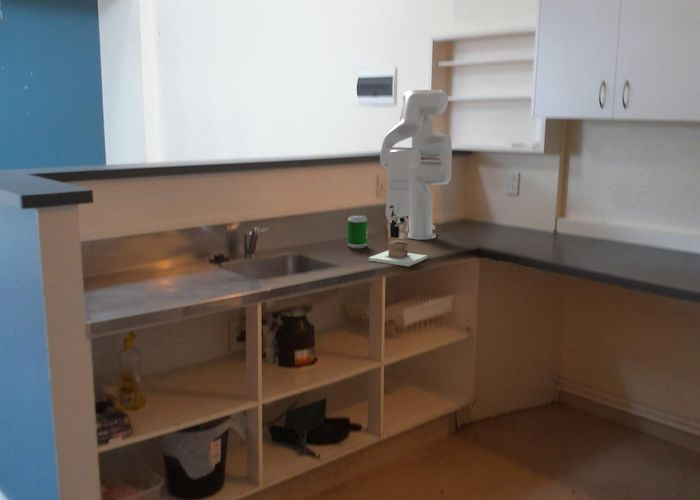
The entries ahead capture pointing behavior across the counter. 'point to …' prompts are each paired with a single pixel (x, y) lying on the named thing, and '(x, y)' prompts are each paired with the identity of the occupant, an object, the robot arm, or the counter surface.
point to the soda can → (357, 231)
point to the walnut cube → (398, 249)
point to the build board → (398, 259)
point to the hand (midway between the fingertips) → (398, 235)
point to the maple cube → (401, 230)
